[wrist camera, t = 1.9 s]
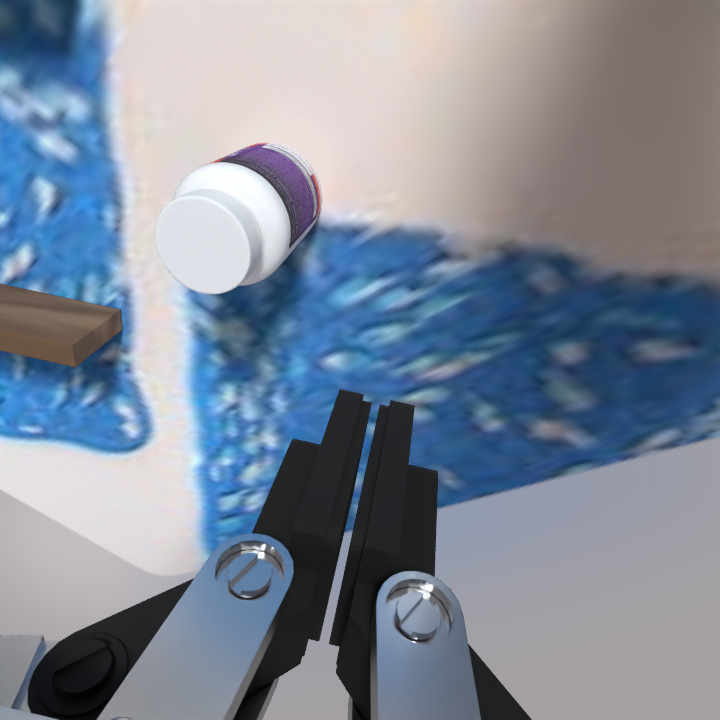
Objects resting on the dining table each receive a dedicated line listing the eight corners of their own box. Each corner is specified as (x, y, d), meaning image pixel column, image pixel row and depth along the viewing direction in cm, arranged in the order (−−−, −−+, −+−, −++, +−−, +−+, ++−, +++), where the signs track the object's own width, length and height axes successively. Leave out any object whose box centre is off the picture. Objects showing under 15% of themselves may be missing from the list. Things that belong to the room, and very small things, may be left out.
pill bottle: (250, 119, 26) (158, 146, 18) (340, 175, 27) (291, 225, 19) (215, 209, 29) (121, 268, 21) (297, 258, 30) (238, 333, 22)
